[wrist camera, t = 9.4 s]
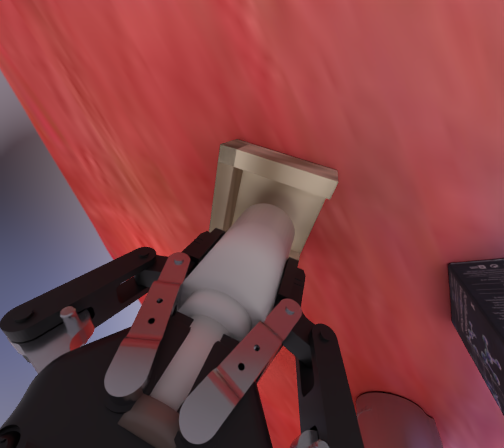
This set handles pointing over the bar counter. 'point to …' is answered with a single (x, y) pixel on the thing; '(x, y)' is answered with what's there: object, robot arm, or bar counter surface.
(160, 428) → the bottle
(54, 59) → the bar counter surface
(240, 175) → the rest
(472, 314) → the box
